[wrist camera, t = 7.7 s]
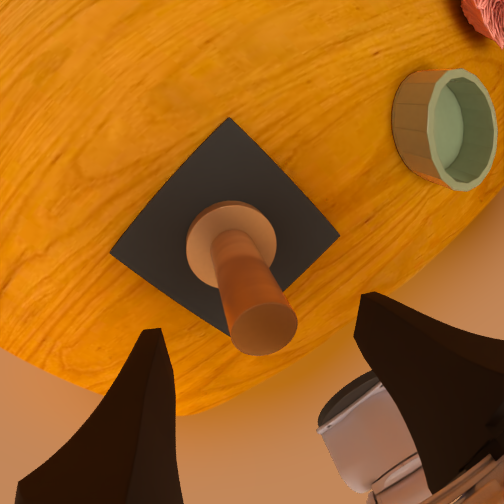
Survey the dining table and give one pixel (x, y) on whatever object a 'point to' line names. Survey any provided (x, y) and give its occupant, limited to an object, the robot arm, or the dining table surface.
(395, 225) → the dining table surface
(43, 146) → the dining table surface
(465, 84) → the holder
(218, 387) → the dining table surface
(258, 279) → the utensil
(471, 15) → the flower
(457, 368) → the robot arm
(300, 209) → the coaster
